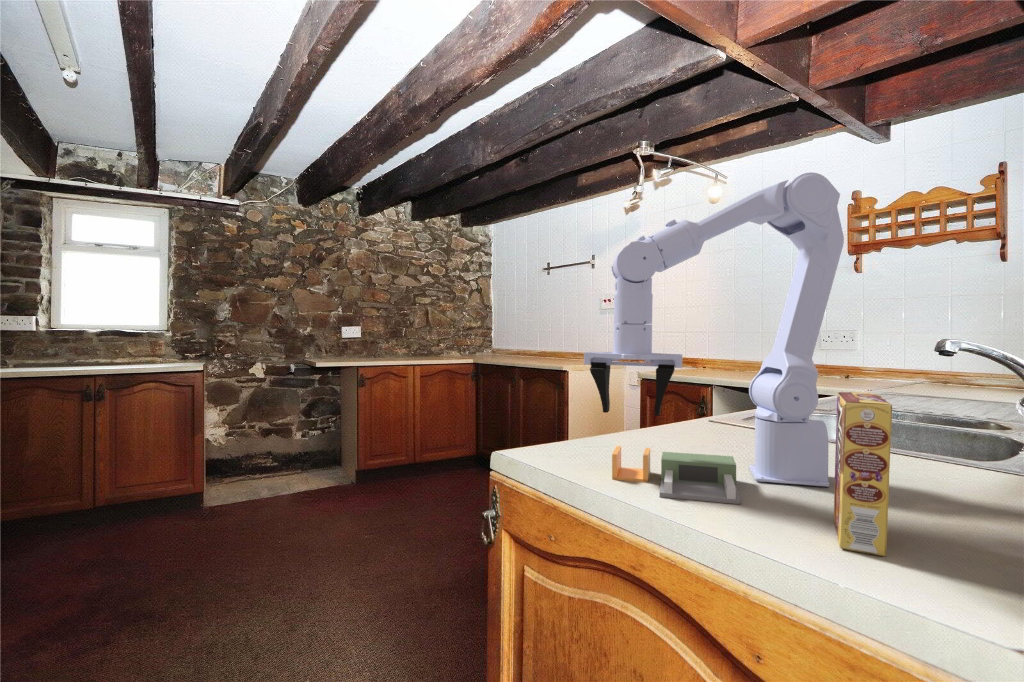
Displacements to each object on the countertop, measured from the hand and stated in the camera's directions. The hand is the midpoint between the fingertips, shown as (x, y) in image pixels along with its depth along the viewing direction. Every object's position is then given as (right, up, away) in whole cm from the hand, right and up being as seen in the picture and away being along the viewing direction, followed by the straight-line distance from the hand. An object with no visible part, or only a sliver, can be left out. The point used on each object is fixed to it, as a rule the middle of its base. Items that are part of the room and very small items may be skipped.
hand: (631, 413), depth 79 cm
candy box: (+19, -10, -24) cm, 32 cm away
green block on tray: (+8, -10, -6) cm, 14 cm away
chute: (0, -10, 0) cm, 10 cm away
